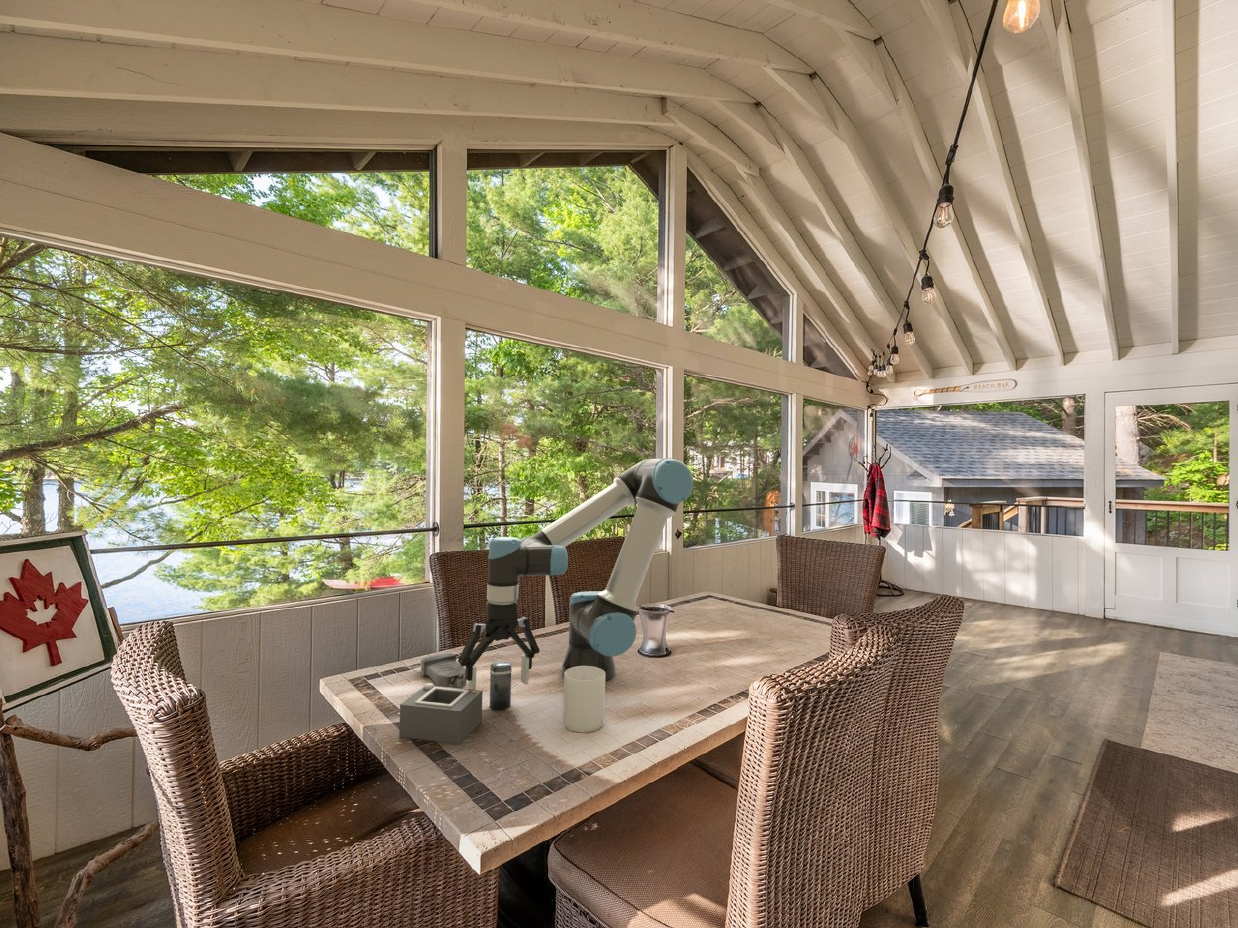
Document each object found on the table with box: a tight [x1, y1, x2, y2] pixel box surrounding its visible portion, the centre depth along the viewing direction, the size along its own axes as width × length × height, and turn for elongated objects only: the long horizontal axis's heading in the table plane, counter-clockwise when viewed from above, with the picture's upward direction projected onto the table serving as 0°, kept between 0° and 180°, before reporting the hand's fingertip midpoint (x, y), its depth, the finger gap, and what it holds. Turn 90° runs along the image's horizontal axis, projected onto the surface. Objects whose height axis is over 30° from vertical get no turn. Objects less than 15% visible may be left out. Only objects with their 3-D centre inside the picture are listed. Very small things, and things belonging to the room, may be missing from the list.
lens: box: [489, 661, 513, 711], centre depth 138 cm, size 5×5×10 cm
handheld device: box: [419, 652, 468, 689], centre depth 154 cm, size 10×20×5 cm, turn 40°
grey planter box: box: [398, 682, 483, 745], centre depth 126 cm, size 14×11×8 cm
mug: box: [562, 666, 606, 734], centre depth 130 cm, size 10×12×12 cm
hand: (498, 687), depth 138 cm, fingers open, 13 cm apart
